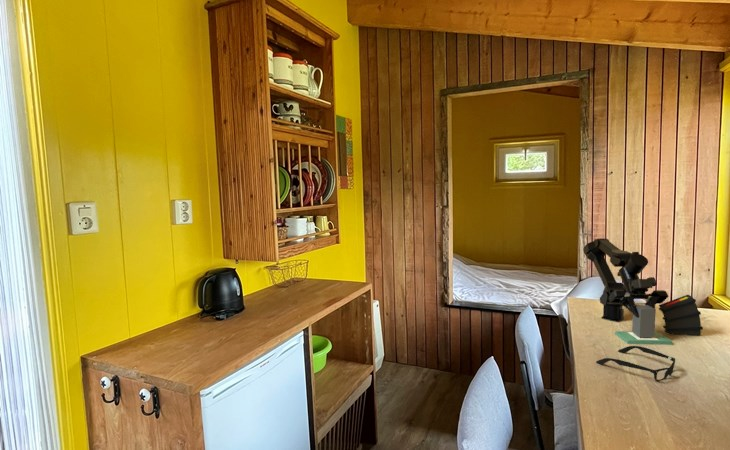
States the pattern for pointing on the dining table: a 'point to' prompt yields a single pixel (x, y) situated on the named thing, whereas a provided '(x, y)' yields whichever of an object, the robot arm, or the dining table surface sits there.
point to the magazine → (681, 316)
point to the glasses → (628, 364)
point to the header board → (642, 338)
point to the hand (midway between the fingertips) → (646, 317)
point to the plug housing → (644, 321)
